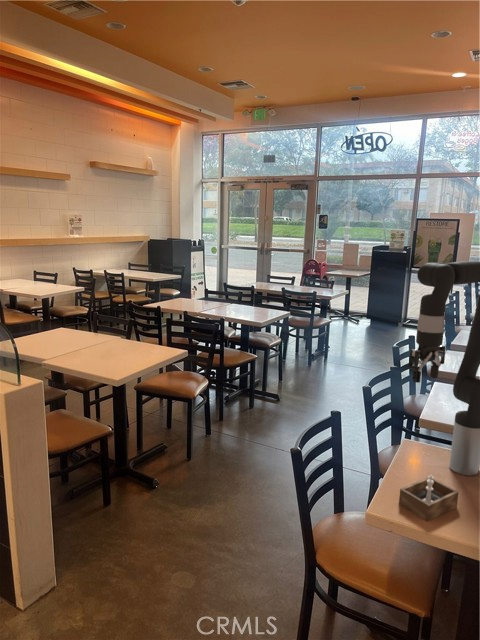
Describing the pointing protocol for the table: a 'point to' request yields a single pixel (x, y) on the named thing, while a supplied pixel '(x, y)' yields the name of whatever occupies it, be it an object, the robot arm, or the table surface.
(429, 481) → the chess piece
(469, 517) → the table surface
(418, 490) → the walnut box
